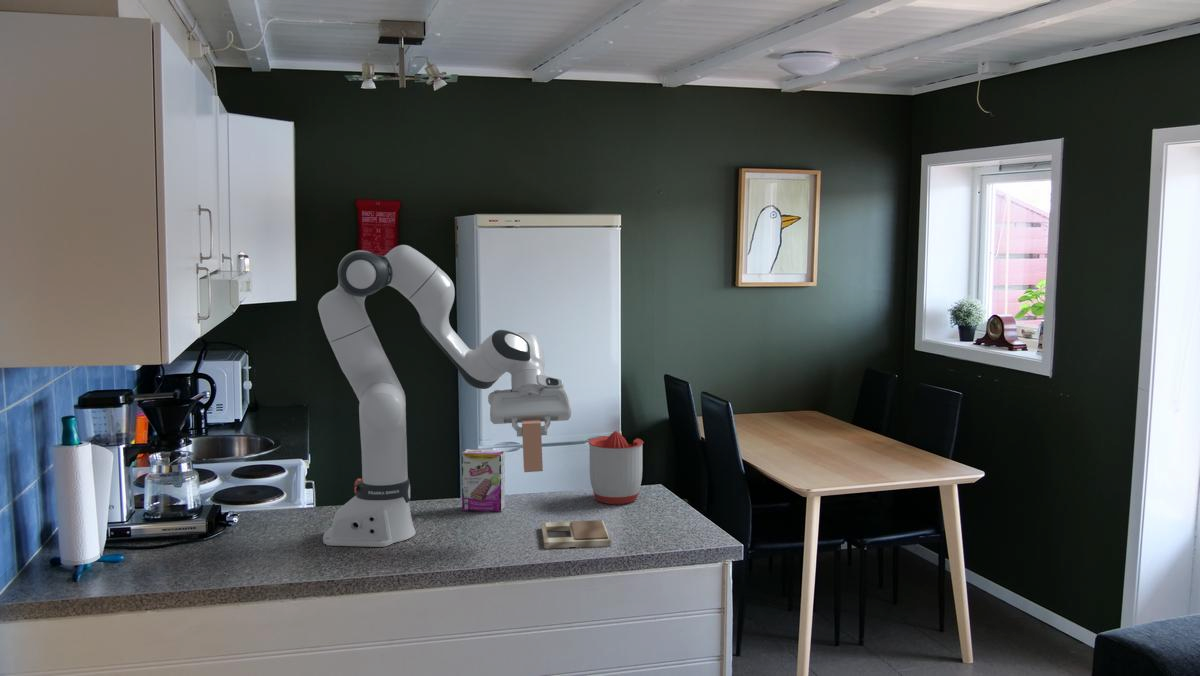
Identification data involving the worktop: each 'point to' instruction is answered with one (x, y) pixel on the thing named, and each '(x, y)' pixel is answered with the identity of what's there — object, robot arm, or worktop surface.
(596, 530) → the hole board
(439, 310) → the robot arm
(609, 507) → the worktop surface
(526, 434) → the terracotta block
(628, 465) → the citrus juicer
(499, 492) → the candy bar box
